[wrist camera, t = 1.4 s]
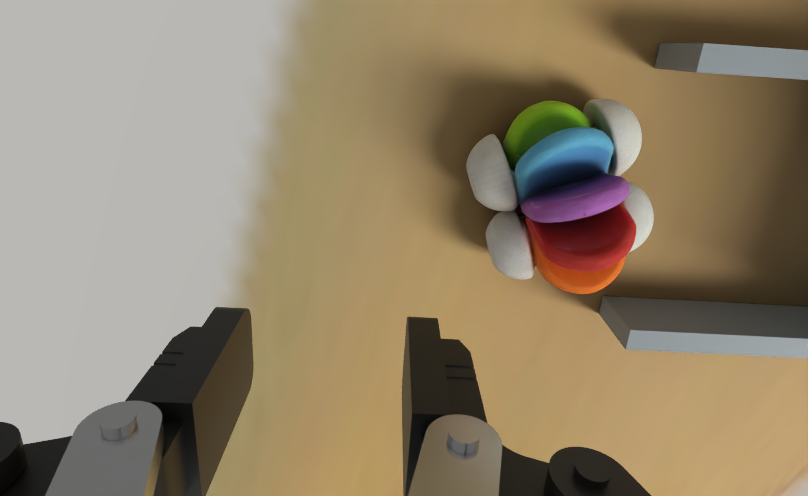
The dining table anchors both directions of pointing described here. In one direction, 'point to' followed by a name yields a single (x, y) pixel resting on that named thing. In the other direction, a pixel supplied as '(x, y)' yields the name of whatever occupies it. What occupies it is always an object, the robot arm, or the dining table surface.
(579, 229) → the white-wheeled rainbow disc toy
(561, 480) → the robot arm
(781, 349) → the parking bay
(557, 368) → the dining table surface
